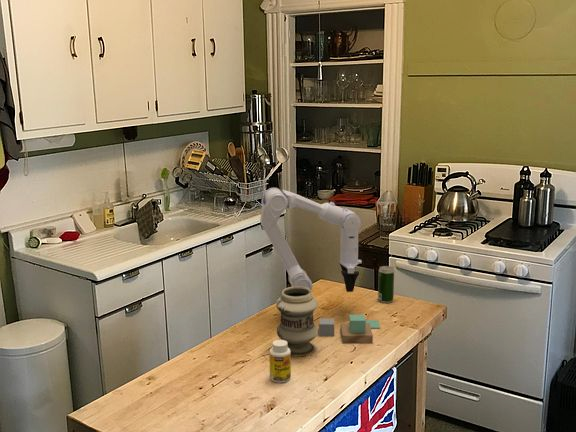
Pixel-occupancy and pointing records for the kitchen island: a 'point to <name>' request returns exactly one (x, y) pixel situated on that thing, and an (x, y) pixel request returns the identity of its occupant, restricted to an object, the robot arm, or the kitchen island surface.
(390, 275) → the beer can
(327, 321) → the slate block
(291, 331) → the apothecary jar
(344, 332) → the walnut block
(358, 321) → the teal block
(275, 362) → the supplement bottle
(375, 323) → the teal square tile
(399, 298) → the kitchen island surface
